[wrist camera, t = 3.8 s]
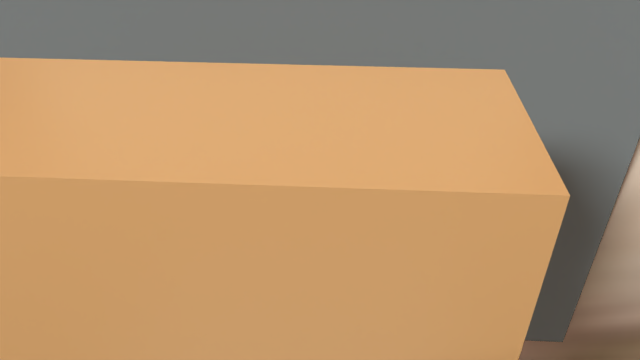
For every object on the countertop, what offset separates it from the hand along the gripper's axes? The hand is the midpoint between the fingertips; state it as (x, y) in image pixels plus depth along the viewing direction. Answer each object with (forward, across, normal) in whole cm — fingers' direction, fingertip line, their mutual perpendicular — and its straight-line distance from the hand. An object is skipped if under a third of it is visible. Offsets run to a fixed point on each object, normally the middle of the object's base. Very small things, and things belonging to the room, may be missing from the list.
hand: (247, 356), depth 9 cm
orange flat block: (+1, 0, 0) cm, 1 cm away
